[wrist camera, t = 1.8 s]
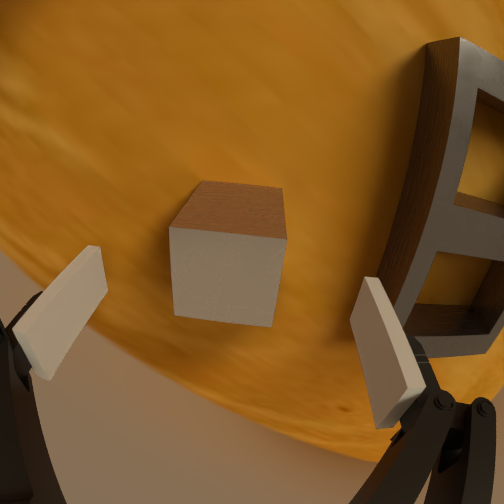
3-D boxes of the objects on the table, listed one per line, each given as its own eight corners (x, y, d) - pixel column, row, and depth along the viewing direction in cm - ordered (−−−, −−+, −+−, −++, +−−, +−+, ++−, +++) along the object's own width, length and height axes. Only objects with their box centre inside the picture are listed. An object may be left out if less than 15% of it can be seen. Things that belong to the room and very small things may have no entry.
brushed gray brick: (202, 180, 19) (168, 226, 13) (282, 188, 19) (286, 239, 12) (201, 248, 21) (174, 315, 15) (272, 256, 21) (271, 327, 15)
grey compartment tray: (426, 43, 13) (460, 36, 9) (544, 109, 13) (576, 119, 9) (358, 323, 24) (368, 359, 20) (469, 325, 24) (485, 353, 20)
